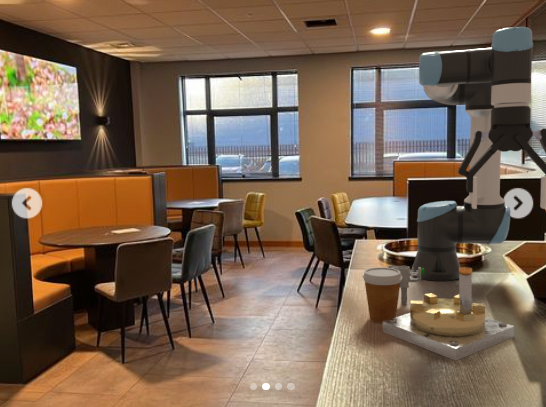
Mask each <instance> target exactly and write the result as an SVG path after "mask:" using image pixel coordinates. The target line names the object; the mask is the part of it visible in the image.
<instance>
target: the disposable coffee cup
mask: <svg viewBox="0 0 546 407" xmlns="http://www.w3.org/2000/svg"><path fill="white" fill-rule="evenodd" d="M362 279H363V281H364V287H365V294H366V300H367V302H366V303H367V307H368V314H369V320H370V321H372V322H374V323H378V324H383V321H385V320H389V319H392V318H395V317H397V312H398V304H399V297H400V296H399V295H400V291H401V288H400V282H401V280H402V276H401V273H400V271H399V270H397V269H393V268H387V267H385V268H384V267H381V266H379V267H370V268H368V269H365V270H364V273H363V275H362Z"/></svg>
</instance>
